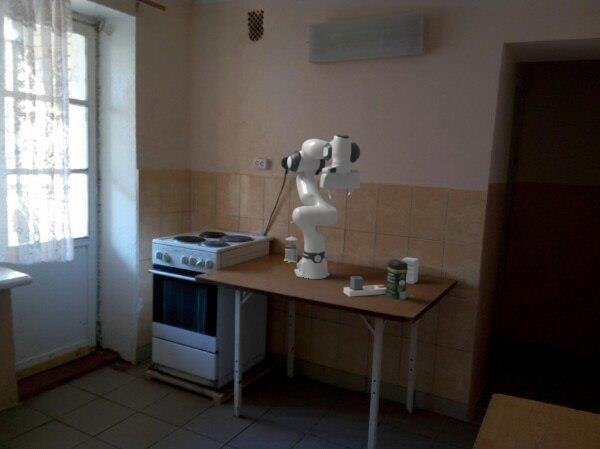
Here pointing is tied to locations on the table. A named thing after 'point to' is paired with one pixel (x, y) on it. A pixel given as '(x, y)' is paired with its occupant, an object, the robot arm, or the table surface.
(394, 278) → the coffee jar
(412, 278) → the supplement box
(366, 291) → the power strip
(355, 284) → the block
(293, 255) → the french press
